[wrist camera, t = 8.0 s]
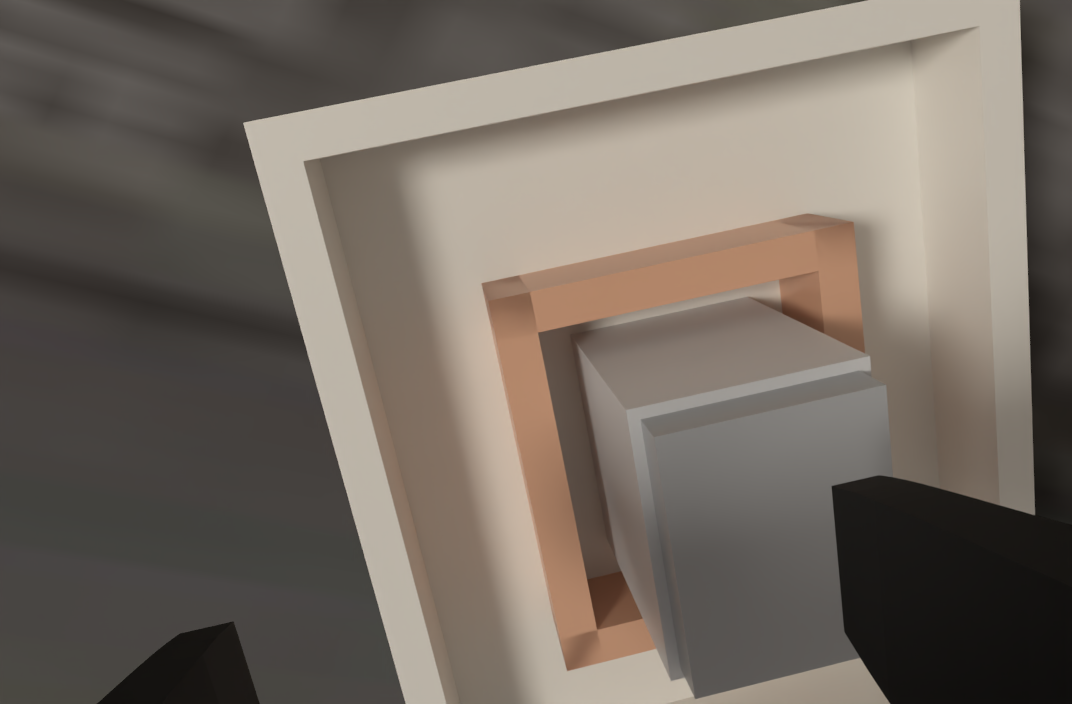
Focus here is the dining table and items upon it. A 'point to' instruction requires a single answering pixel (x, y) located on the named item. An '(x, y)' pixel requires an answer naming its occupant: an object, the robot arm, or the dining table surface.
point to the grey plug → (730, 482)
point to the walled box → (643, 303)
